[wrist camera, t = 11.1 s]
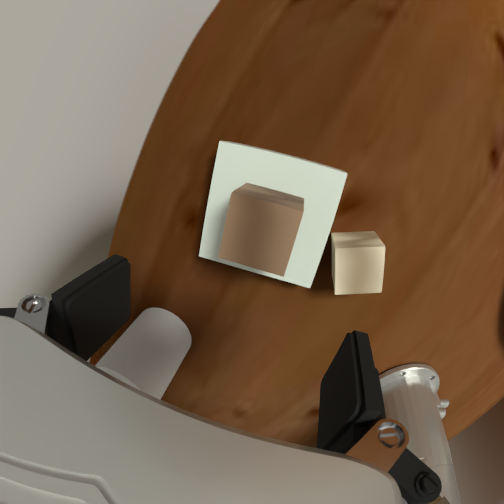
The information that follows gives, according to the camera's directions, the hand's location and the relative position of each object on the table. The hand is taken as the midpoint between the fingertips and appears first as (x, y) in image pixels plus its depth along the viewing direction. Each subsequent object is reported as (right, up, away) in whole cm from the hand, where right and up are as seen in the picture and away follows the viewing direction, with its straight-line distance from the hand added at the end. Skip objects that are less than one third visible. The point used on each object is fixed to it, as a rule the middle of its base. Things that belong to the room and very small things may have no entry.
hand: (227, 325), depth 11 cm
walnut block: (+2, +6, +13) cm, 15 cm away
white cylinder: (-11, -8, +25) cm, 29 cm away
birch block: (+11, +3, +16) cm, 20 cm away
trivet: (+3, +7, +16) cm, 18 cm away
